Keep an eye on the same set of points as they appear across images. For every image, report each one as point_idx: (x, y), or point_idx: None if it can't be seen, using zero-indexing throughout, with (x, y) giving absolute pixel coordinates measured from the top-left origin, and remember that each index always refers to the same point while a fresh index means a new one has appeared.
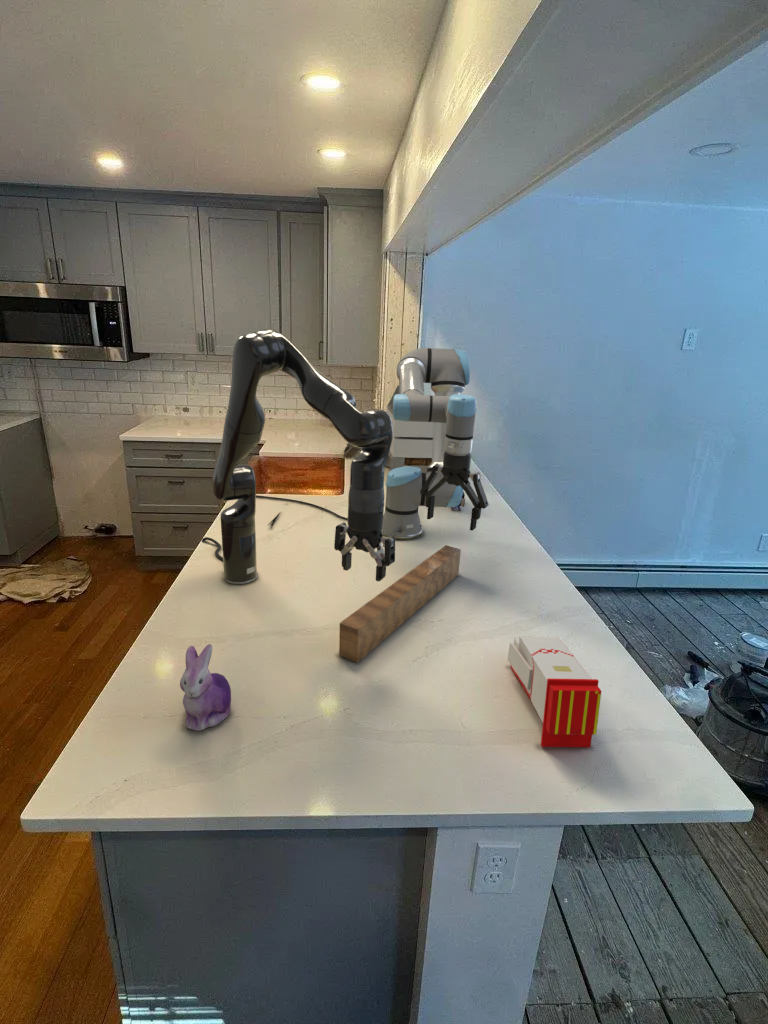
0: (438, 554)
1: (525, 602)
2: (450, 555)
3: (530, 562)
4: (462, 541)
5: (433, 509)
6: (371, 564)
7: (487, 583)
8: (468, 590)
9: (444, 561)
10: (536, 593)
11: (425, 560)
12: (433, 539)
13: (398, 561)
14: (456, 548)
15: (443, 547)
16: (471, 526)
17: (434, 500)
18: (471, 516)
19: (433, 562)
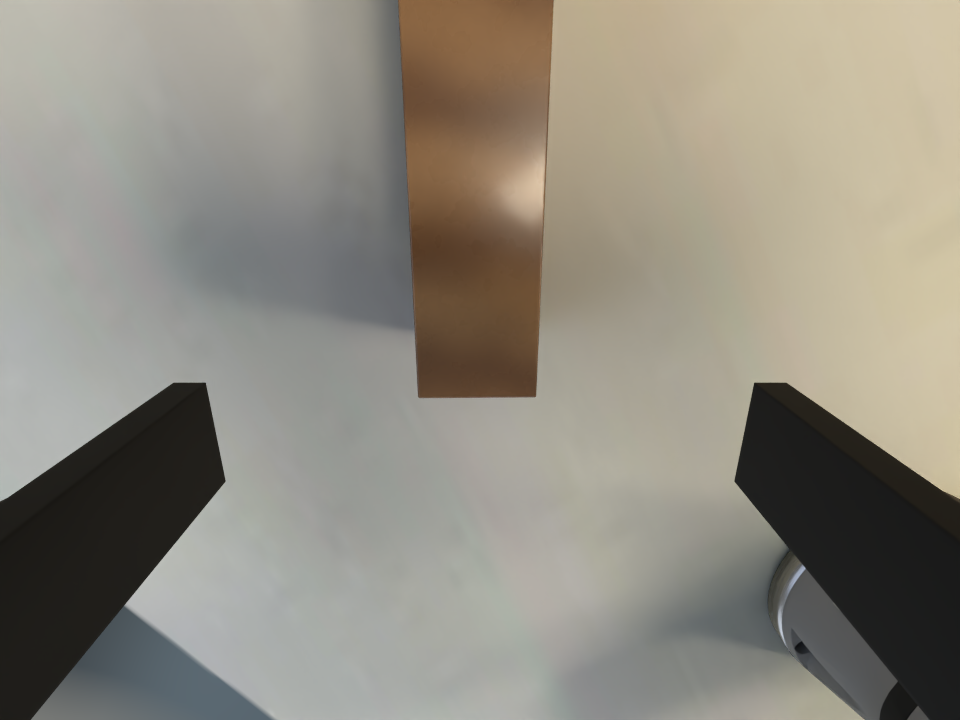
0: (509, 213)
1: (11, 251)
2: (425, 252)
3: (235, 622)
4: (572, 645)
5: (792, 535)
6: (914, 156)
7: (268, 332)
8: (301, 196)
9: (409, 113)
10: (36, 373)
11: (548, 24)
12: (698, 598)
13: (776, 289)
14: (448, 391)
15: (531, 352)
16: (157, 405)
17: (890, 665)
18: (69, 486)
19: (472, 27)
